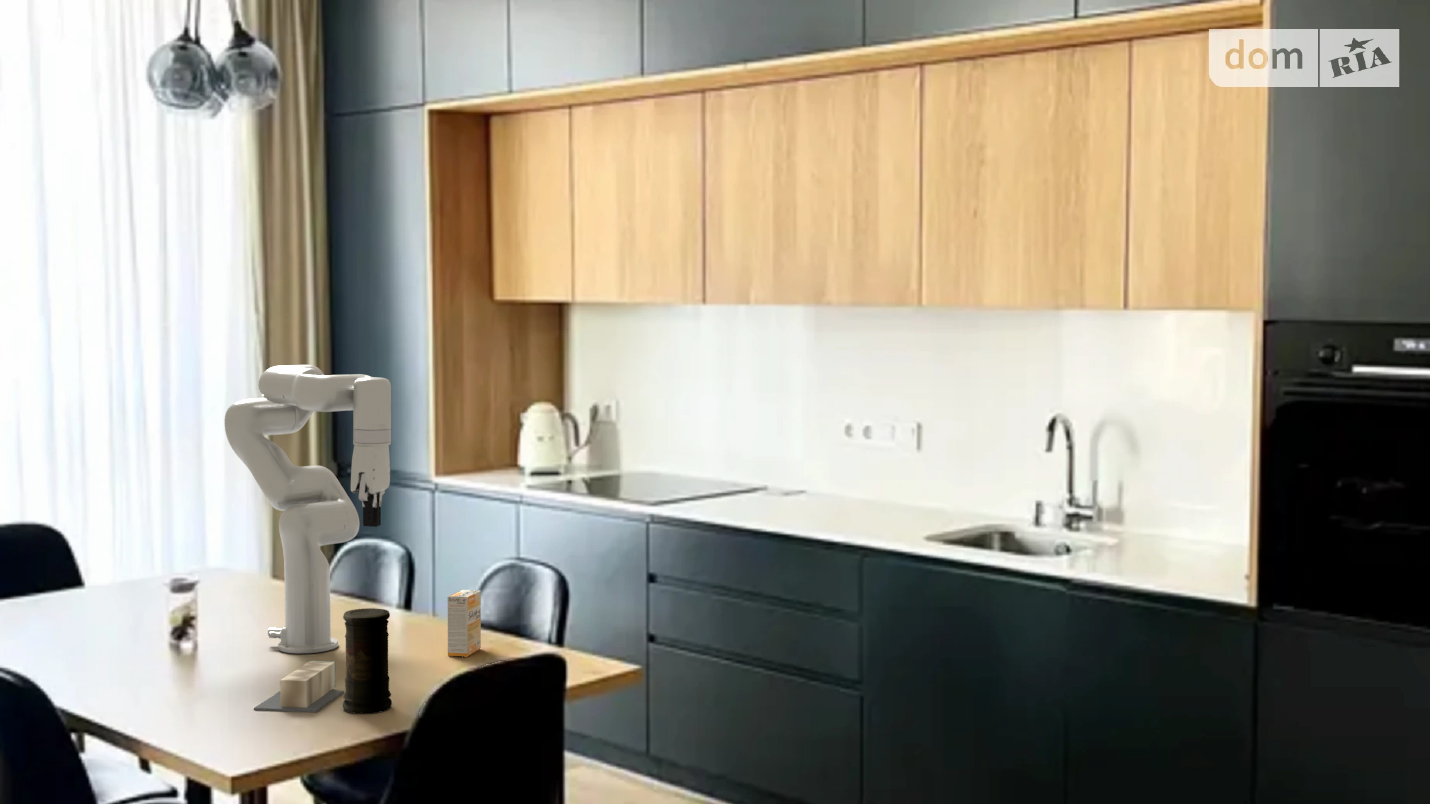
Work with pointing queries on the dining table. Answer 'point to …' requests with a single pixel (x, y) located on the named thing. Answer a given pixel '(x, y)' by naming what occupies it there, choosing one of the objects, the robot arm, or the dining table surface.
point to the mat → (275, 705)
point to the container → (366, 661)
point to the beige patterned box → (308, 684)
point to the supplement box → (464, 622)
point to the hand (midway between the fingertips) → (371, 525)
